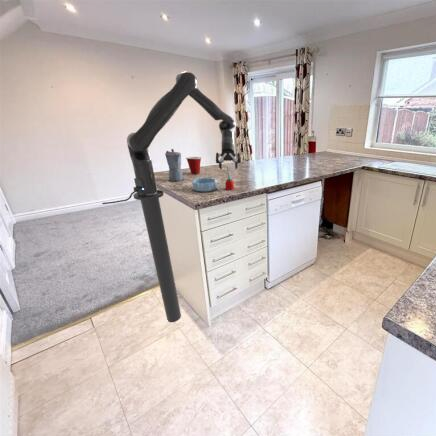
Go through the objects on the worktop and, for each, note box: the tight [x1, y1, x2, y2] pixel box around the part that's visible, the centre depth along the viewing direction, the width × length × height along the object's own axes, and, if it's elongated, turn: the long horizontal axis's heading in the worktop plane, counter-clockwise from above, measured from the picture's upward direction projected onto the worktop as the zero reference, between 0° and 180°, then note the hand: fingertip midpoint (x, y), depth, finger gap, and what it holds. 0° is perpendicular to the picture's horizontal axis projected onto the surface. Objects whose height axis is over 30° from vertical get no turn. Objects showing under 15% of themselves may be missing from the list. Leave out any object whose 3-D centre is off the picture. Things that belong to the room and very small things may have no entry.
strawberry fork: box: [224, 165, 235, 191], centre depth 146 cm, size 5×5×14 cm
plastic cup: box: [185, 156, 202, 175], centre depth 179 cm, size 11×11×12 cm
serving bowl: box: [191, 177, 218, 193], centre depth 146 cm, size 14×14×5 cm
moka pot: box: [164, 148, 184, 182], centre depth 160 cm, size 10×15×20 cm, turn 58°
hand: (228, 168), depth 145 cm, fingers open, 8 cm apart
